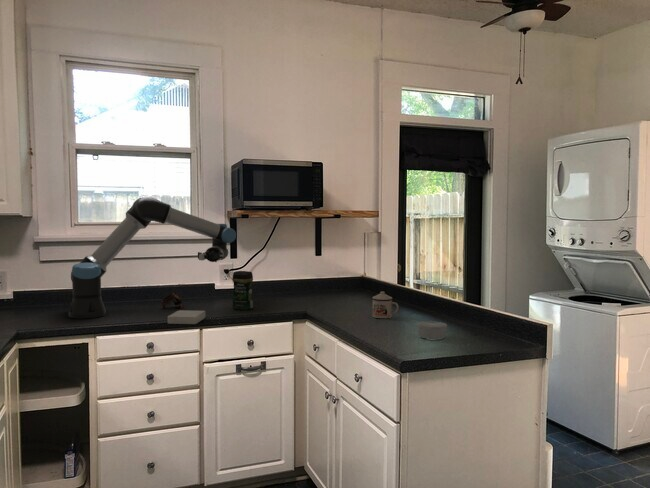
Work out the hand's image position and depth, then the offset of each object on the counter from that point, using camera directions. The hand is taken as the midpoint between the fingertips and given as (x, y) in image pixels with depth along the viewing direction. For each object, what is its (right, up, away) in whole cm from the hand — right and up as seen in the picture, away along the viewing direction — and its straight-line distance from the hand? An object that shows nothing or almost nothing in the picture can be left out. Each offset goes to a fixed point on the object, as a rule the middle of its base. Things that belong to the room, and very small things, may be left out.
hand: (200, 257), depth 236 cm
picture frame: (-1, -25, -10) cm, 27 cm away
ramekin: (+98, -29, -47) cm, 112 cm away
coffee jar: (+18, -26, +11) cm, 33 cm away
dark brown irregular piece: (-17, -25, +13) cm, 33 cm away
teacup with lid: (+85, -27, -10) cm, 90 cm away
